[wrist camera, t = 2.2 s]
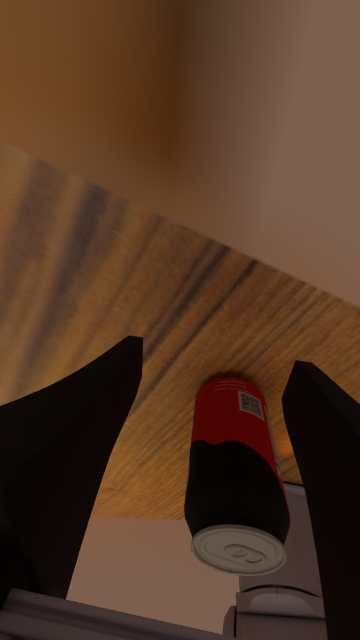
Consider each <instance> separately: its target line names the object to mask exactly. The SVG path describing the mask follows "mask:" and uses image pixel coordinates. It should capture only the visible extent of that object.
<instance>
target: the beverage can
mask: <svg viewBox="0 0 360 640" xmlns="http://www.w3.org/2000/svg"><path fill="white" fill-rule="evenodd" d="M184 512H185V519H186V521H187V524H188V527H189V529H190V532H191V535H192V542H191V549H192V552H193V554H194V555H195V557H196V558H197V559H198V560H199V561H200V562H202V563H203V564H204V565H206V566H208V567H210V568H213V569H215V570H217V571H220V572H224V573H228V574H233V575H240V576H258V575H265V574H269V573H272V572H274V571H276V570H278V569H280V568H281V567H282V566H283V565H284V564H285V562H286V559H287V555H286V550H285V547H284V544H285V541H286V538H287V534H288V531H289V528H290V512H289V508H288V503H287V499H286V494H285V489H284V485H283V480H282V475H281V471H280V466H279V462H278V457H277V452H276V448H275V443H274V438H273V434H272V429H271V424H270V420H269V415H268V411H267V406H266V401H265V398H264V396H263V394H262V393H261V391H260V390H259V389H258V388H257V387H256V386H255V385H253V384H252V383H250V382H248V381H246V380H243V379H240V378H235V377H223V378H218V379H215V380H213V381H211V382H209V383H207V384H206V385H204V386H203V387H202V388H201V390H200V391H199V393H198V394H197V397H196V400H195V409H194V419H193V428H192V438H191V447H190V457H189V467H188V476H187V486H186V495H185V505H184Z"/></svg>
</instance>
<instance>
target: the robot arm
mask: <svg viewBox="0 0 360 640" xmlns="http://www.w3.org/2000/svg"><path fill="white" fill-rule="evenodd" d="M142 358H143V337H136V336H127V337H126V338H124V339H123V340H122V341H120V342H119V343H118V344H116V345H115V346H113V347H112V348H111V349H109V350H108V351H107V352H105V353H104V354H102V355H101V356H99V357H98V358H97V359H95V360H94V361H92V362H90V363H89V364H87V365H86V366H84V367H82V368H81V369H79V370H78V371H76V372H74V373H73V374H71V375H69V376H67V377H65V378H64V379H62V380H60V381H58V382H56V383H54V384H52V385H50V386H48V387H46V388H43V389H41V390H39V391H36V392H34V393H32V394H29V395H27V396H25V397H22V398H20V399H18V400H15V401H12V402H10V403H7V404H4V405H2V406H0V640H360V404H359V403H357V402H356V401H355V400H354V399H353V398H352V397H351V396H349V395H348V394H347V393H346V392H345V391H344V390H343V389H341V388H340V387H339V386H338V385H337V384H336V383H335V382H334V381H333V380H331V379H330V378H329V377H328V376H327V375H326V374H325V373H324V372H322V371H321V370H320V369H319V368H318V367H317V366H315V365H314V364H313V363H311V362H305V361H298V360H296V361H295V363H294V366H293V369H292V371H291V374H290V377H289V380H288V382H287V385H286V388H285V390H284V393H283V396H282V406H283V413H284V419H285V424H286V427H287V431H288V434H289V438H290V441H291V445H292V448H293V451H294V455H295V458H296V461H297V465H298V468H299V471H300V475H301V478H302V482H303V486H304V487H302V486H296V485H291V484H285V483H283V485H284V489H285V494H286V499H287V503H288V508H289V512H290V528H289V531H288V534H287V538H286V541H285V544H284V547H285V550H286V555H287V559H286V562H285V564H284V565H283V566H282V567H281V568H280V569H278V570H276V571H274V572H272V573H269V574H265V575H258V576H240V575H239V586H240V587H239V588H240V592H237V593H236V606H230V608H229V610H228V612H227V614H226V615H225V618H224V623H223V635H222V634H217V633H213V632H208V631H204V630H199V629H195V628H190V627H186V626H181V625H177V624H172V623H167V622H163V621H159V620H154V619H150V618H145V617H141V616H136V615H132V614H127V613H123V612H118V611H114V610H109V609H105V608H101V607H96V606H92V605H87V604H83V603H78V602H74V601H69V600H66V596H67V593H68V589H69V585H70V582H71V578H72V575H73V572H74V568H75V565H76V562H77V558H78V555H79V551H80V548H81V544H82V541H83V538H84V535H85V531H86V528H87V525H88V521H89V518H90V515H91V512H92V509H93V506H94V502H95V499H96V496H97V493H98V490H99V487H100V484H101V481H102V478H103V475H104V472H105V469H106V466H107V463H108V460H109V457H110V455H111V452H112V450H113V447H114V445H115V442H116V440H117V438H118V436H119V433H120V431H121V429H122V427H123V425H124V422H125V420H126V418H127V416H128V413H129V411H130V409H131V407H132V404H133V402H134V400H135V397H136V394H137V391H138V388H139V385H140V381H141V378H142Z"/></svg>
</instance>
